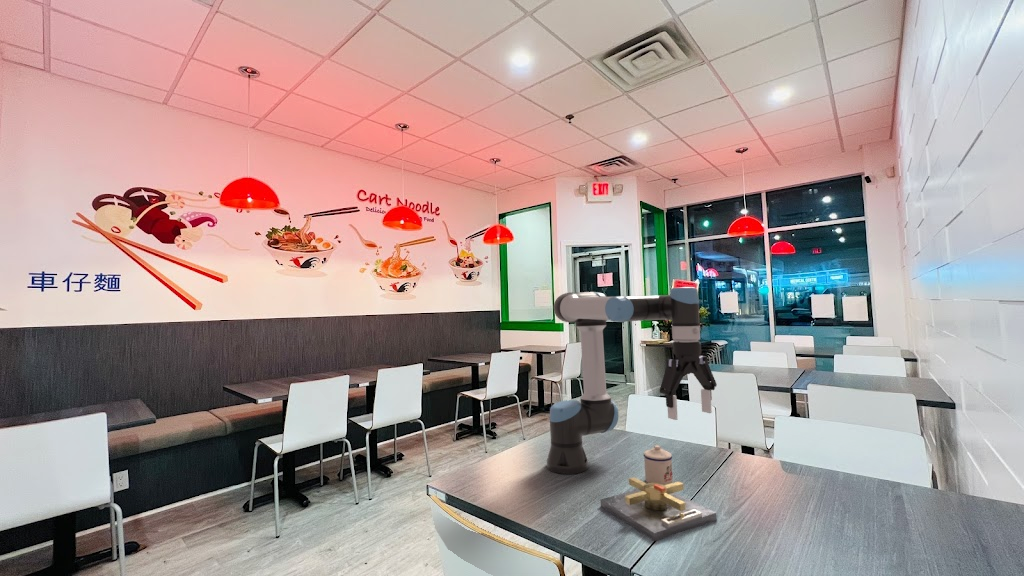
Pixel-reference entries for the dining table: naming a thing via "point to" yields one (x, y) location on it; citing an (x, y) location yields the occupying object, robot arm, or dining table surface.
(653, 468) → the teacup with lid
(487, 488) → the dining table surface
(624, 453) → the dining table surface
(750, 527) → the dining table surface
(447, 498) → the dining table surface
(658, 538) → the stand
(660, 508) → the capstan
